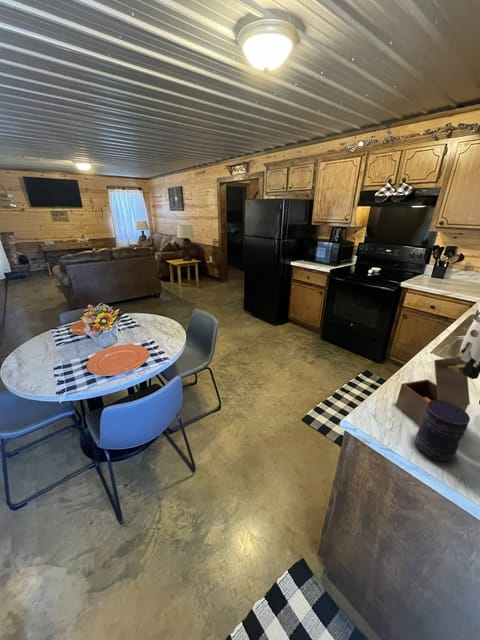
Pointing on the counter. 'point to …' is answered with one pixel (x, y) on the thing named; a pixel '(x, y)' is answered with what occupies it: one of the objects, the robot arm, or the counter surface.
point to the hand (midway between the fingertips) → (469, 376)
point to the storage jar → (441, 431)
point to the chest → (417, 398)
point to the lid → (452, 381)
